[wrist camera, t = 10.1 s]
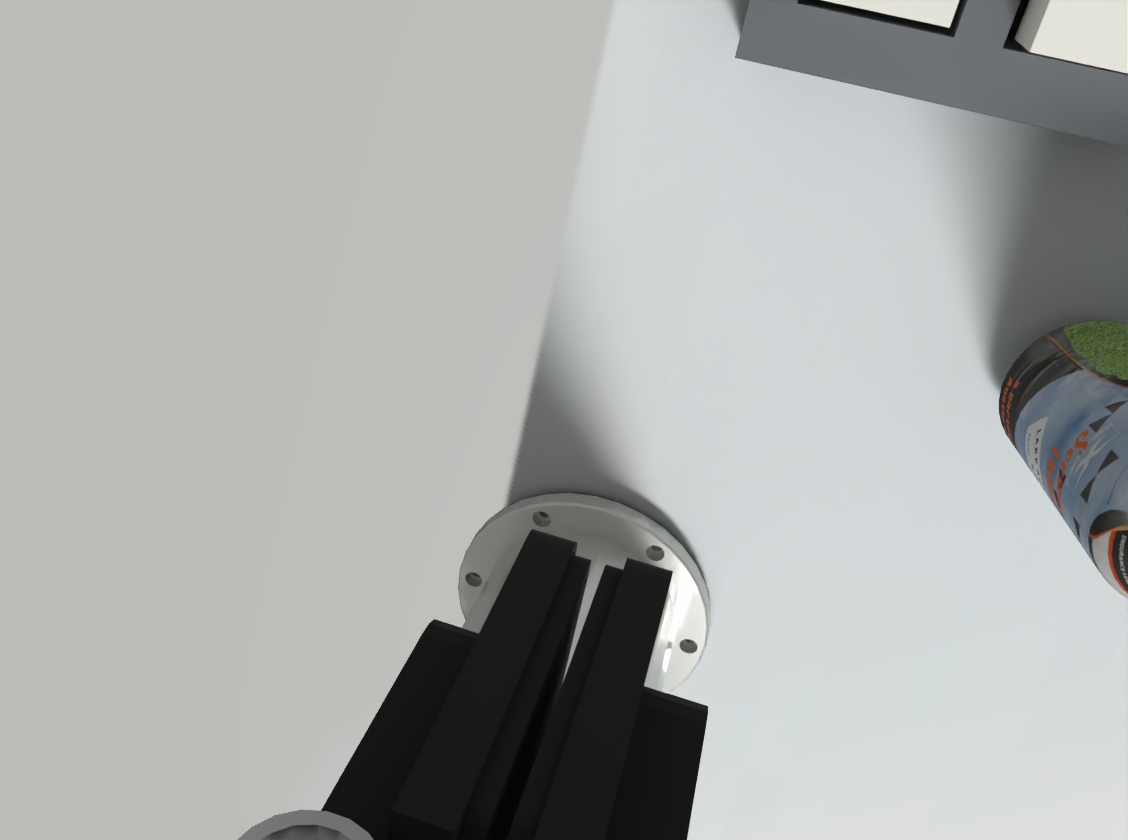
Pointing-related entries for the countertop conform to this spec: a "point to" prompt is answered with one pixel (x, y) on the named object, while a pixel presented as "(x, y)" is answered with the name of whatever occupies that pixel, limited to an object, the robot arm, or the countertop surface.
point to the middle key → (1078, 31)
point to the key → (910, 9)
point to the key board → (940, 62)
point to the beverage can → (1077, 433)
